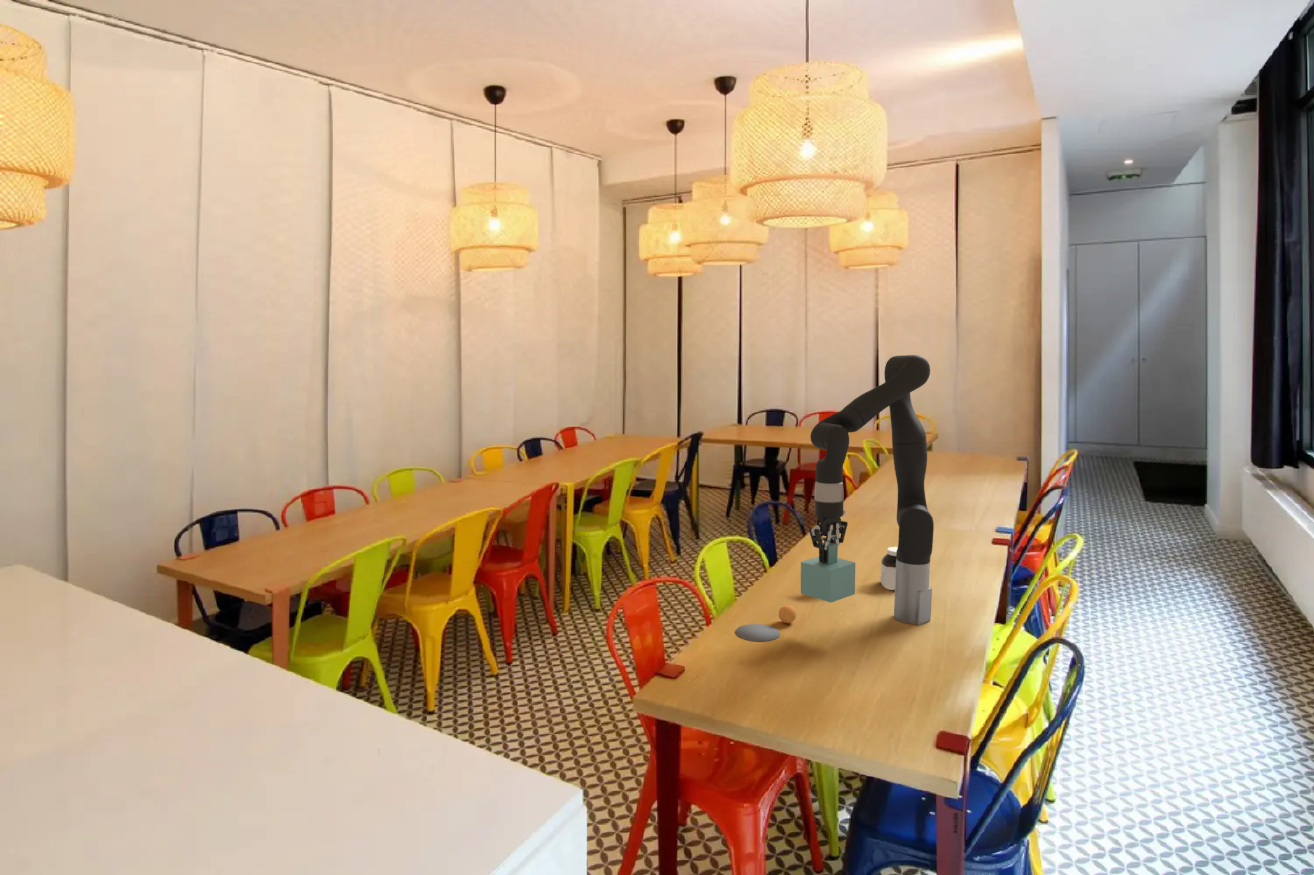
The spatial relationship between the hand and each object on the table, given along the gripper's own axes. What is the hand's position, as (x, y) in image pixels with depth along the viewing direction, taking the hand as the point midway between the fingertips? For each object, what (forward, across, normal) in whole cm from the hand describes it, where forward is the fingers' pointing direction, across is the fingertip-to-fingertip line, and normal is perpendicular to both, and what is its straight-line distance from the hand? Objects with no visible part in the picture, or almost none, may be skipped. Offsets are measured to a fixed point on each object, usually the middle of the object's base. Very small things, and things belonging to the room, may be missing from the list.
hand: (828, 560), depth 210 cm
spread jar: (+21, +50, +12) cm, 56 cm away
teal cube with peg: (+9, 0, 0) cm, 9 cm away
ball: (+18, -2, +13) cm, 22 cm away
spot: (+20, -14, +13) cm, 28 cm away
